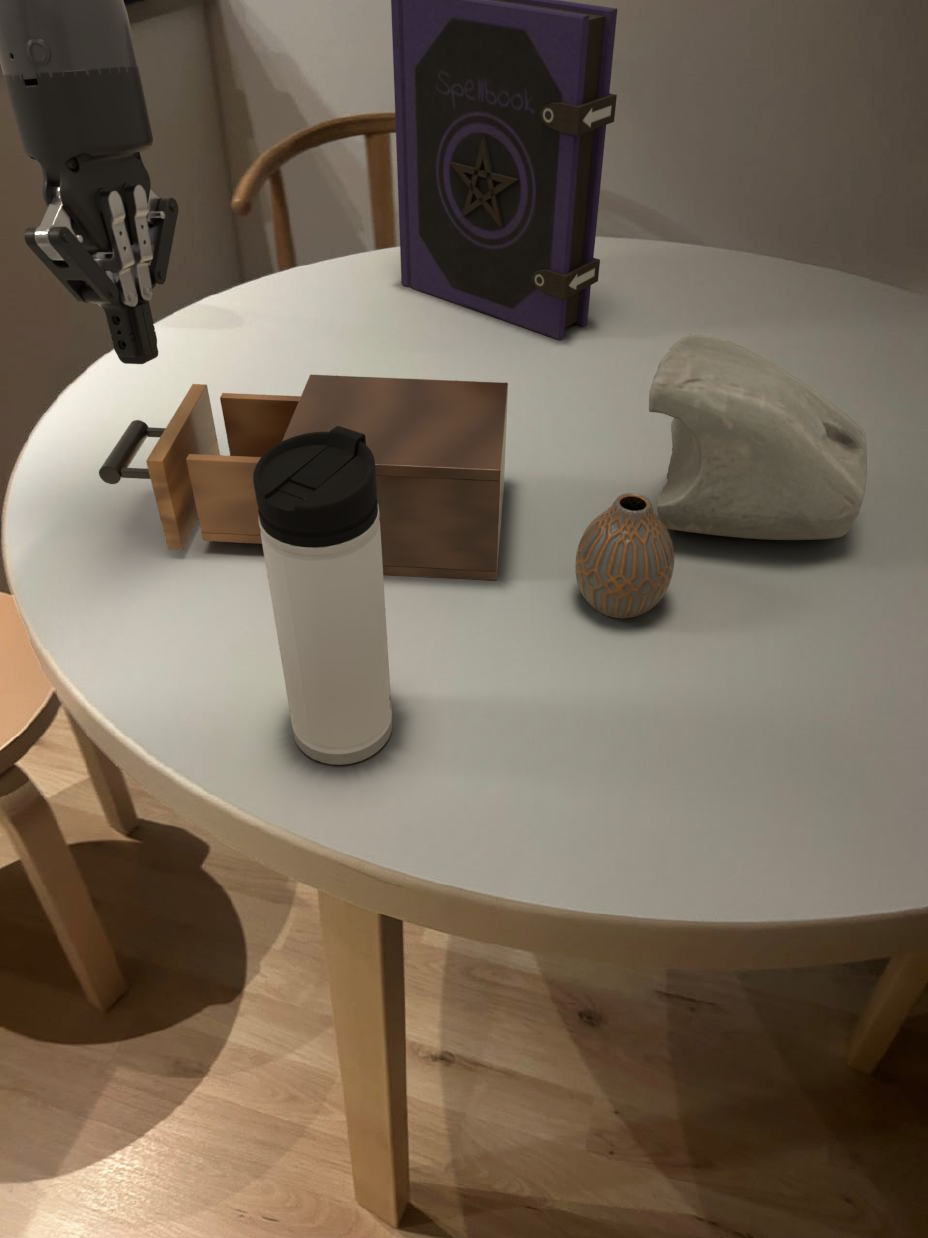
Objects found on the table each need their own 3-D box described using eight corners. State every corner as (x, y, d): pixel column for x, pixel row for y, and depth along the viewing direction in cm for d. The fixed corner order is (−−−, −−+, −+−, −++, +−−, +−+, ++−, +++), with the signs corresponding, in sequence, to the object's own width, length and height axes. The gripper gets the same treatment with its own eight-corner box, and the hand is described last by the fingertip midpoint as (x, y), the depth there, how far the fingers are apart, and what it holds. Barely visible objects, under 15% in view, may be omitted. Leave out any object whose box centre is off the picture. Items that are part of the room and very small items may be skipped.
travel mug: (414, 713, 62) (403, 443, 49) (355, 782, 58) (325, 506, 45) (336, 678, 64) (305, 411, 51) (273, 741, 60) (222, 468, 47)
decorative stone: (854, 577, 73) (917, 400, 63) (626, 554, 75) (652, 378, 65) (834, 490, 82) (887, 322, 72) (631, 471, 84) (655, 305, 74)
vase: (666, 637, 68) (685, 537, 62) (568, 626, 68) (578, 526, 63) (666, 577, 73) (684, 479, 67) (575, 567, 74) (585, 470, 68)
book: (399, 286, 114) (387, -13, 94) (433, 270, 118) (429, -21, 98) (560, 343, 103) (586, 17, 83) (593, 324, 106) (625, 8, 87)
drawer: (103, 545, 74) (77, 457, 68) (151, 464, 82) (131, 380, 77) (356, 559, 73) (348, 470, 67) (378, 475, 81) (372, 391, 76)
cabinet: (289, 570, 73) (273, 459, 67) (321, 478, 83) (309, 373, 76) (496, 581, 72) (500, 470, 66) (503, 487, 82) (508, 382, 75)
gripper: (88, 63, 62) (149, 333, 71) (-67, 72, 51) (27, 389, 60) (188, 56, 60) (237, 336, 69) (48, 64, 49) (128, 394, 58)
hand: (139, 360), depth 64 cm, fingers closed
